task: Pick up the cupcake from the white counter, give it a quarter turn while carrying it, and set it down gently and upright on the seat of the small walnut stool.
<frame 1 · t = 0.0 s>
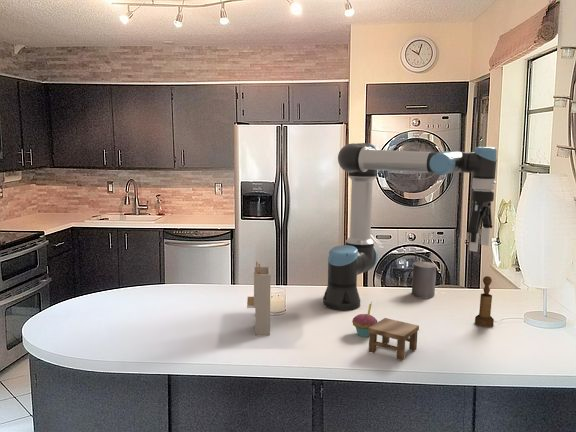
hand: (479, 248, 201), 28 cm above the worktop, tool pointing down, fingers open, 13 cm apart
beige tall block: (261, 331, 194), on the worktop
walnut stool: (392, 350, 177), on the worktop
pillar candle: (423, 295, 238), on the worktop
brown piece: (483, 324, 203), on the worktop
cupcake: (364, 335, 190), on the worktop
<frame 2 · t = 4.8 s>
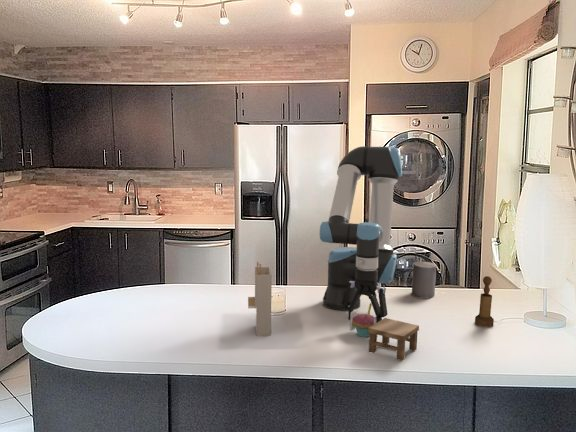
hand: (364, 332, 190), 1 cm above the worktop, tool pointing down, fingers closed on cupcake, 8 cm apart
cupcake: (364, 335, 190), on the worktop, touching gripper
everything else where it was.
when the fingers open (10 cm above the worktop, at t = 9.3 s): cupcake drops 1 cm, resting on walnut stool.
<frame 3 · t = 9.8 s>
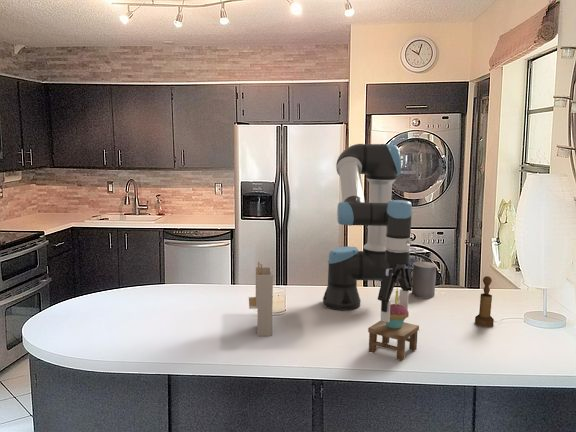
hand: (394, 315, 175), 12 cm above the worktop, tool pointing down, fingers open, 13 cm apart
cupcake: (394, 326, 176), point 8 cm above the worktop, touching walnut stool
everything else where it was.
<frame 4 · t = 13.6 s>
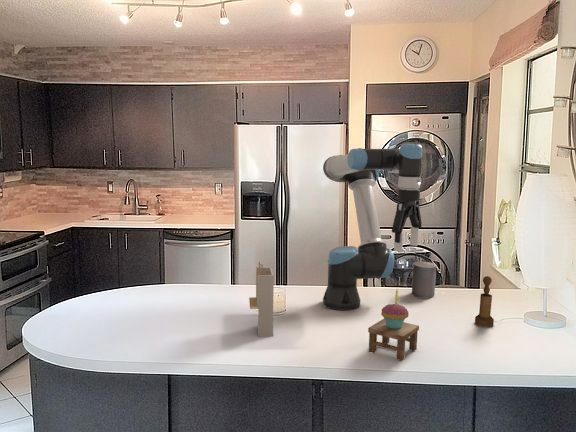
hand: (406, 248, 195), 29 cm above the worktop, tool pointing down, fingers open, 13 cm apart
at the end: cupcake inside the target area on the walnut stool (0.4 cm from its centre), point 7.8 cm above the walnut stool's base; cupcake tilted 0°; the gripper is holding nothing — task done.
